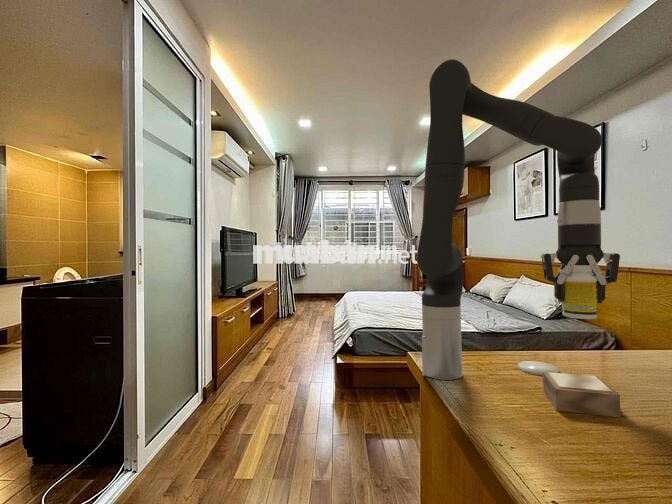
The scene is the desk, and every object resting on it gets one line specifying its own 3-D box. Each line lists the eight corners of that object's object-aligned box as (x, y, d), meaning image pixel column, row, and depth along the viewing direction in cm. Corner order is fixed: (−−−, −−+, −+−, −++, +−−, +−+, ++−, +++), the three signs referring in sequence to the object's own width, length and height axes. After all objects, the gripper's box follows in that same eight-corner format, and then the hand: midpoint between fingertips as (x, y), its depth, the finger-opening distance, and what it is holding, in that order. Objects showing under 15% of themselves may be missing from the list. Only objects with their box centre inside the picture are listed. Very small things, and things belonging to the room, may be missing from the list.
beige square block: (556, 410, 66) (555, 387, 66) (543, 390, 75) (542, 370, 75) (620, 417, 62) (619, 393, 63) (598, 395, 72) (597, 375, 72)
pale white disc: (521, 373, 86) (521, 370, 86) (515, 362, 94) (515, 360, 94) (563, 377, 83) (563, 373, 83) (553, 365, 92) (553, 362, 92)
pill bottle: (604, 320, 71) (603, 265, 71) (570, 319, 72) (570, 265, 72) (587, 314, 77) (587, 264, 77) (556, 314, 78) (556, 264, 78)
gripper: (545, 223, 73) (546, 303, 73) (628, 220, 68) (629, 306, 68) (536, 225, 80) (536, 298, 80) (610, 223, 76) (611, 301, 76)
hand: (579, 301), depth 74 cm, fingers closed on pill bottle, 6 cm apart
